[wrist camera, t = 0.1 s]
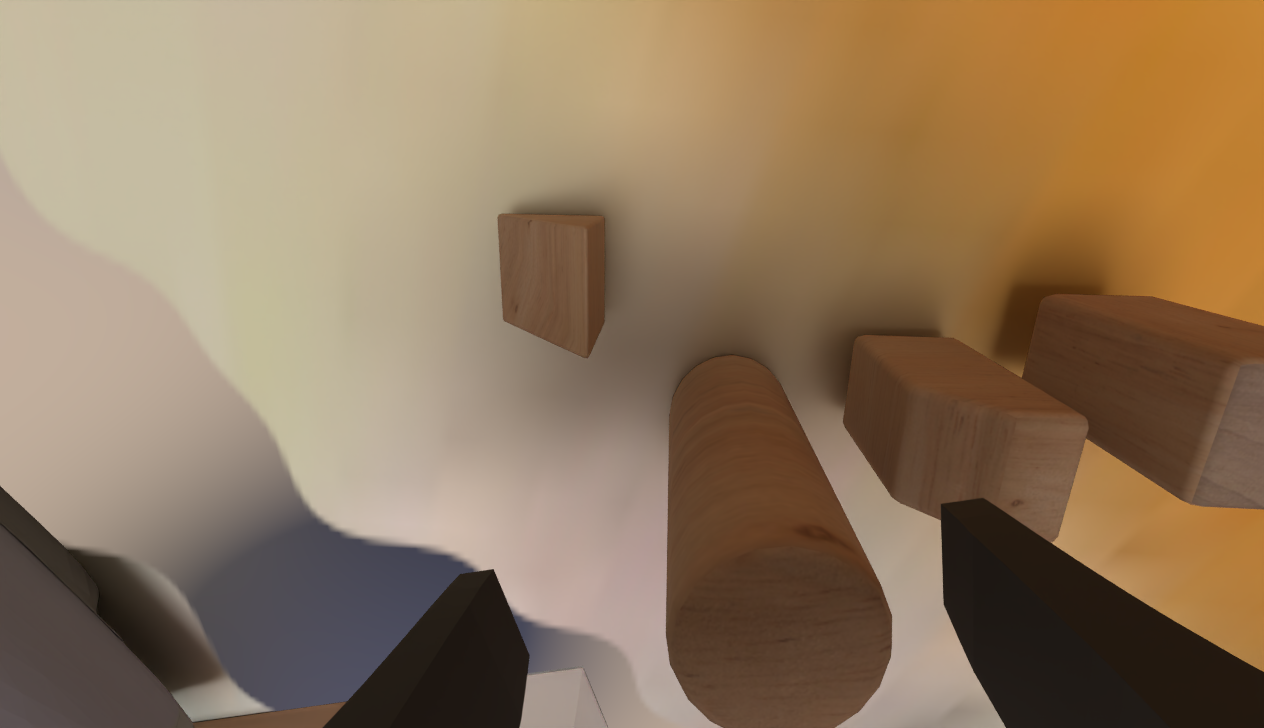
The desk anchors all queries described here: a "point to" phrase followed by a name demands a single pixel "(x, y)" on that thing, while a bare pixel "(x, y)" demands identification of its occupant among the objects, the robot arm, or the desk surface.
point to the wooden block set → (891, 463)
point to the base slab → (279, 718)
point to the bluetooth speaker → (65, 642)
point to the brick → (561, 700)
